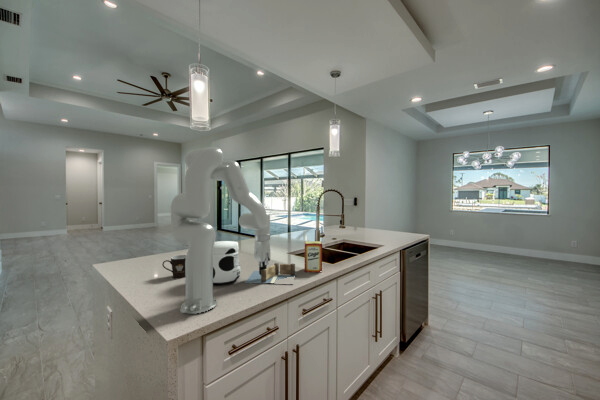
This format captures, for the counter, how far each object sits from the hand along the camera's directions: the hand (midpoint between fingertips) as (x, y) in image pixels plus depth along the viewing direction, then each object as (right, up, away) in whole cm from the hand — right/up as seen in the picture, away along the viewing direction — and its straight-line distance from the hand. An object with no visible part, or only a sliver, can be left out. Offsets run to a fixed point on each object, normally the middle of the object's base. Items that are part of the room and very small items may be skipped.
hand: (262, 274), depth 122 cm
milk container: (-20, -3, -2) cm, 20 cm away
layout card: (+4, -3, +3) cm, 6 cm away
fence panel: (+3, -2, 0) cm, 3 cm away
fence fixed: (+10, -3, +6) cm, 12 cm away
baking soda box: (+26, -3, +15) cm, 30 cm away
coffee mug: (-44, -2, +4) cm, 44 cm away
